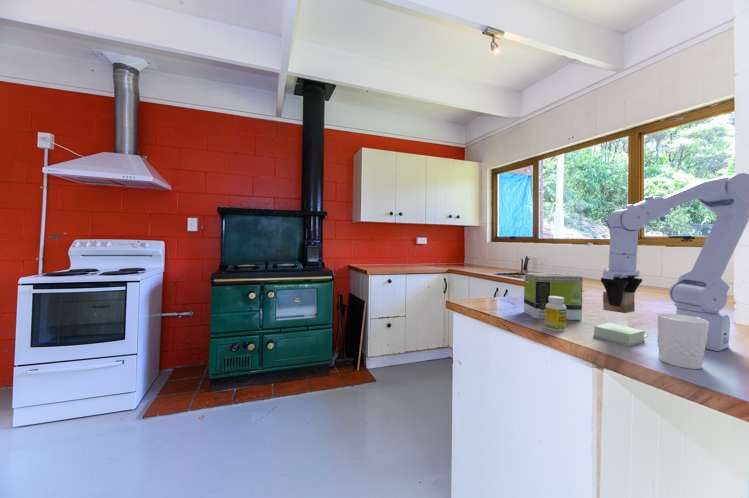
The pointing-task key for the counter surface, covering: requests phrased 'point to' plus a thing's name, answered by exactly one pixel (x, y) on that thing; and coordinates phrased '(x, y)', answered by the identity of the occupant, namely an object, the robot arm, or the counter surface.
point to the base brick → (619, 334)
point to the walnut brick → (626, 303)
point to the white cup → (682, 340)
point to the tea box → (552, 293)
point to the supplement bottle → (555, 314)
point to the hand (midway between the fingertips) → (620, 304)
